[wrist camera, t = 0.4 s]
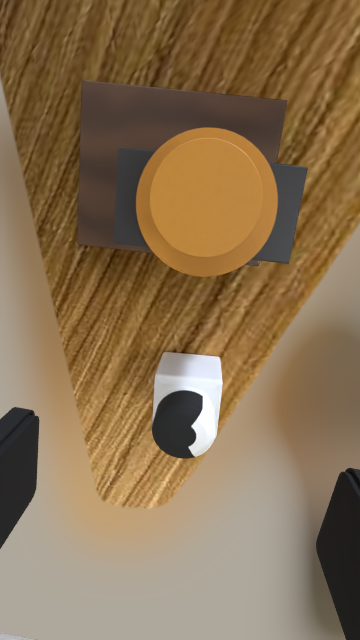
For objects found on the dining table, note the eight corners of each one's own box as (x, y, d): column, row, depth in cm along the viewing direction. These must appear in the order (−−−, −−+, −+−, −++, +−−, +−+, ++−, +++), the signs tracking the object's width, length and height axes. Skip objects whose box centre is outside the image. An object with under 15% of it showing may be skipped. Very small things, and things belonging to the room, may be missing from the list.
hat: (143, 122, 21) (121, 87, 16) (288, 137, 21) (317, 106, 15) (132, 267, 23) (110, 279, 18) (262, 283, 23) (279, 300, 18)
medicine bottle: (159, 401, 44) (143, 464, 32) (163, 350, 42) (146, 397, 31) (214, 407, 44) (217, 472, 32) (220, 356, 42) (225, 405, 30)
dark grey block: (149, 173, 33) (118, 144, 21) (272, 186, 32) (308, 164, 21) (144, 237, 35) (112, 242, 23) (261, 251, 34) (289, 263, 23)
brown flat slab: (95, 95, 35) (81, 79, 31) (278, 114, 34) (287, 100, 30) (89, 242, 39) (77, 244, 35) (253, 262, 38) (258, 266, 35)
